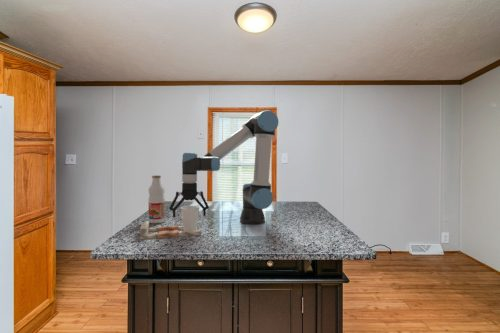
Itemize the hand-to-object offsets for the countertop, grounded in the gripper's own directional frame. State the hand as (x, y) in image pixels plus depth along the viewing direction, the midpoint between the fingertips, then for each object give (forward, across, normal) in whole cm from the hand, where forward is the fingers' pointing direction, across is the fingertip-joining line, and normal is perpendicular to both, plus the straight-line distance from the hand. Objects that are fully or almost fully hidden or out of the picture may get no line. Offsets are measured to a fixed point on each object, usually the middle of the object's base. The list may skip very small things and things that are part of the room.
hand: (189, 222), depth 155 cm
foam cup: (+5, 0, 0) cm, 5 cm away
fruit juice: (+5, +18, -29) cm, 34 cm away
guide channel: (+5, +9, 0) cm, 10 cm away
